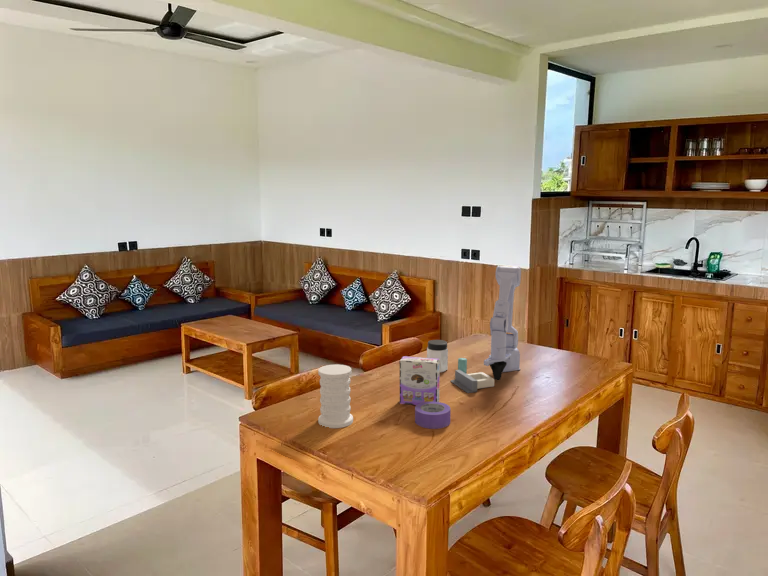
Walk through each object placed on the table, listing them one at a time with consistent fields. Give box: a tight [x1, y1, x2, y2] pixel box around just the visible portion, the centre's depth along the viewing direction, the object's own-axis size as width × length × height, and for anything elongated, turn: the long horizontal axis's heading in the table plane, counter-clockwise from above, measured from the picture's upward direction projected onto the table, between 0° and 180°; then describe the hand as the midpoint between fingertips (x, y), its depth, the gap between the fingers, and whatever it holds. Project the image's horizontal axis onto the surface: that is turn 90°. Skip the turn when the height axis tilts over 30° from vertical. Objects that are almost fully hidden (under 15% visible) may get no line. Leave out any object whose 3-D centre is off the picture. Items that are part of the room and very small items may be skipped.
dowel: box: [457, 357, 468, 374], centre depth 242 cm, size 4×4×7 cm
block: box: [467, 371, 495, 390], centre depth 232 cm, size 9×9×3 cm
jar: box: [426, 339, 449, 373], centre depth 250 cm, size 9×8×12 cm
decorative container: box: [317, 364, 354, 429], centre depth 195 cm, size 12×12×18 cm
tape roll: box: [414, 401, 451, 430], centre depth 196 cm, size 12×12×5 cm
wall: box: [450, 369, 478, 394], centre depth 230 cm, size 4×14×4 cm, turn 21°
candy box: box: [398, 355, 441, 406], centre depth 212 cm, size 14×6×16 cm, turn 74°
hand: (497, 379), depth 235 cm, fingers closed
